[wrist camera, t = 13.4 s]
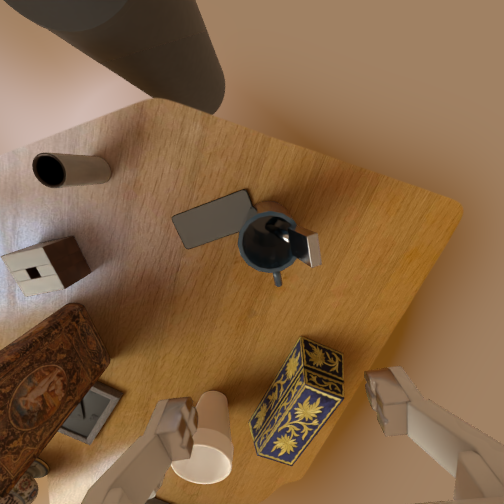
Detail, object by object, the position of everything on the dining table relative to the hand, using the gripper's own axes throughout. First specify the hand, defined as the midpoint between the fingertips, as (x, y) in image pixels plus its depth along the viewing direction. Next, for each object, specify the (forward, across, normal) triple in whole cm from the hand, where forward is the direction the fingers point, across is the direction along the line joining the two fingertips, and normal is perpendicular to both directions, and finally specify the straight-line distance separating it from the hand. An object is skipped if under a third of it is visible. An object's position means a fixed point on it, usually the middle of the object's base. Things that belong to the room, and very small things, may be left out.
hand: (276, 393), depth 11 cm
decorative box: (+35, +2, +42) cm, 54 cm away
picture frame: (+35, +56, +36) cm, 76 cm away
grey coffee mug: (+35, -1, +2) cm, 35 cm away
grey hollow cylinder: (+35, +26, -16) cm, 47 cm away
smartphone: (+35, +9, -2) cm, 37 cm away
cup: (+35, +22, +42) cm, 58 cm away
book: (+35, +44, +16) cm, 59 cm away
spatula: (+34, -1, +1) cm, 34 cm away
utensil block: (+35, +40, -2) cm, 53 cm away
